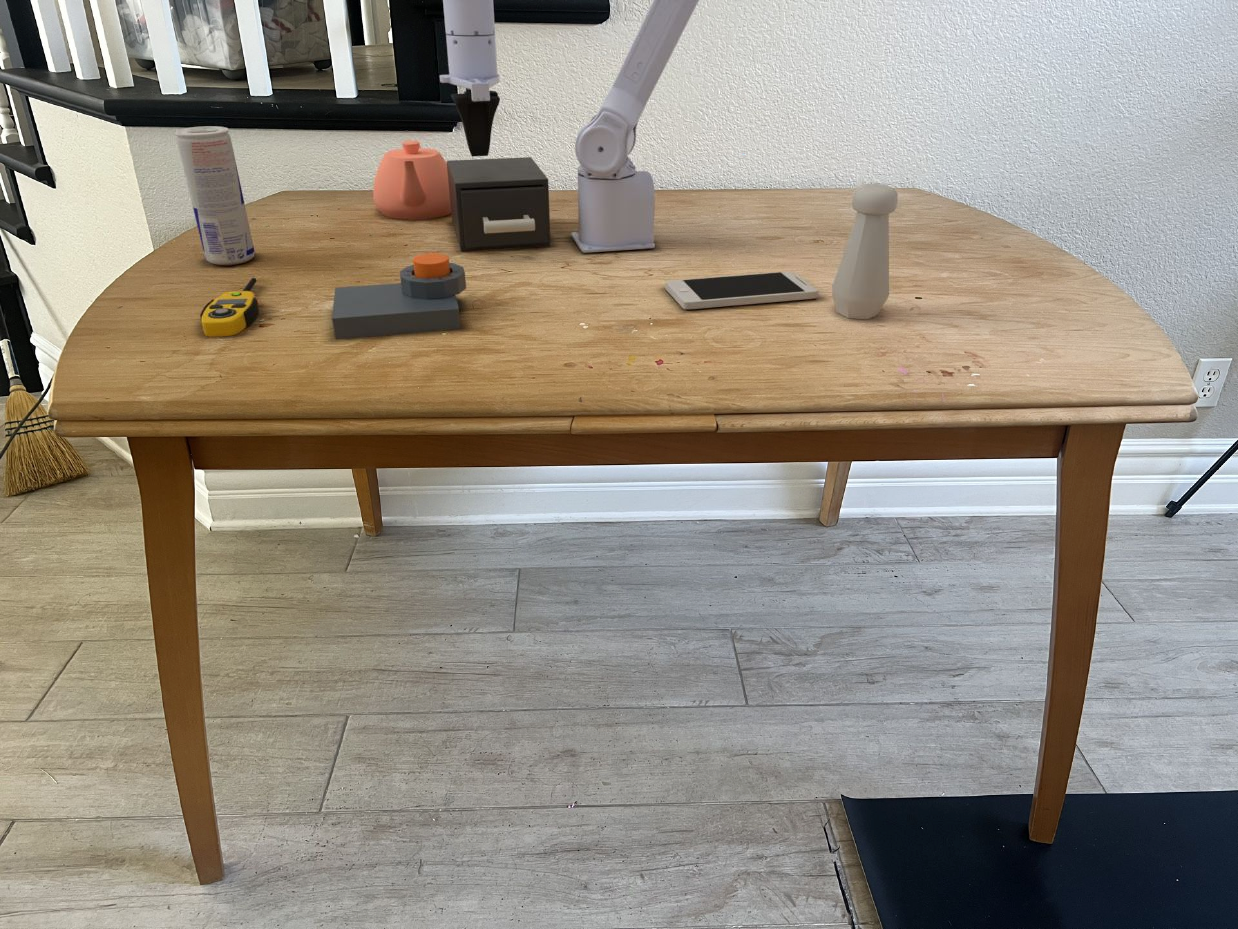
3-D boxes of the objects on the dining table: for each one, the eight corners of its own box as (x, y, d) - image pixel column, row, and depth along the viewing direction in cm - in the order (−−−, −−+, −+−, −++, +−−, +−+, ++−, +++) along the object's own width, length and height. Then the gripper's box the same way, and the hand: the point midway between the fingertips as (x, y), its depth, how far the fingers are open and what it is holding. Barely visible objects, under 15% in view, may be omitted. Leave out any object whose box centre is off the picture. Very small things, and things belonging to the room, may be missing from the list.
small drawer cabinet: (550, 246, 110) (548, 178, 105) (460, 252, 107) (454, 183, 103) (533, 219, 121) (531, 156, 116) (452, 223, 118) (446, 160, 114)
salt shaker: (886, 324, 87) (909, 195, 81) (829, 320, 88) (847, 191, 82) (882, 305, 92) (904, 181, 85) (828, 300, 93) (846, 178, 86)
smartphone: (664, 287, 96) (664, 279, 95) (791, 277, 99) (792, 269, 99) (684, 310, 90) (684, 301, 90) (818, 298, 93) (819, 290, 93)
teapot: (461, 195, 132) (455, 130, 127) (459, 227, 116) (452, 155, 112) (380, 197, 130) (372, 131, 125) (368, 230, 115) (357, 156, 110)
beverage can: (266, 256, 105) (239, 127, 97) (230, 269, 100) (199, 135, 93) (232, 250, 107) (203, 123, 99) (195, 263, 102) (162, 130, 95)
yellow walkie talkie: (188, 320, 82) (229, 269, 94) (193, 339, 83) (233, 286, 95) (241, 318, 82) (275, 268, 95) (246, 337, 83) (278, 285, 96)
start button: (448, 268, 90) (447, 252, 89) (451, 279, 87) (450, 262, 86) (414, 270, 89) (412, 254, 88) (415, 281, 86) (413, 264, 86)
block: (464, 295, 94) (461, 259, 91) (473, 328, 85) (470, 289, 83) (338, 305, 91) (332, 268, 89) (335, 340, 83) (328, 300, 81)
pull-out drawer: (553, 252, 104) (551, 196, 101) (469, 258, 102) (464, 201, 99) (531, 217, 118) (529, 167, 115) (457, 221, 116) (452, 170, 113)
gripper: (432, 29, 105) (442, 145, 112) (440, 40, 93) (451, 168, 100) (489, 29, 107) (496, 143, 114) (504, 39, 95) (511, 166, 102)
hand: (479, 155), depth 107 cm, fingers closed
